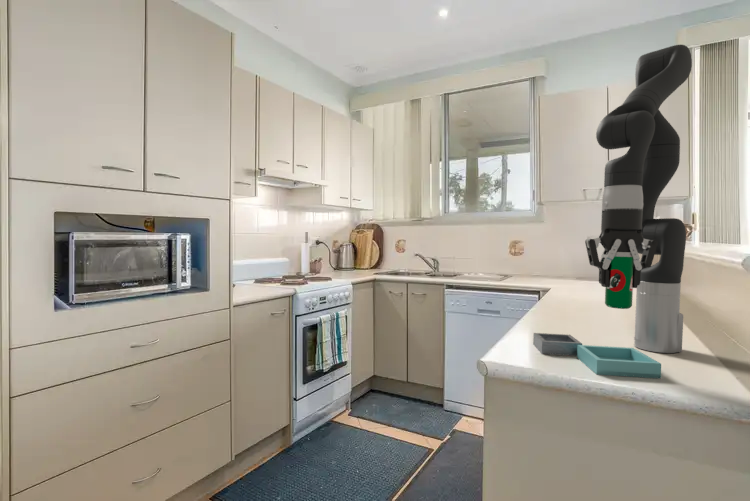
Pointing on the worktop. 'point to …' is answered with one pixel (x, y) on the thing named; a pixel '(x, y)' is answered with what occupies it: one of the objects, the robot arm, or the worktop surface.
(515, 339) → the worktop surface
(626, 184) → the robot arm
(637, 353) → the tray
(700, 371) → the worktop surface
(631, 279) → the soda can
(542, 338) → the grey square bin
